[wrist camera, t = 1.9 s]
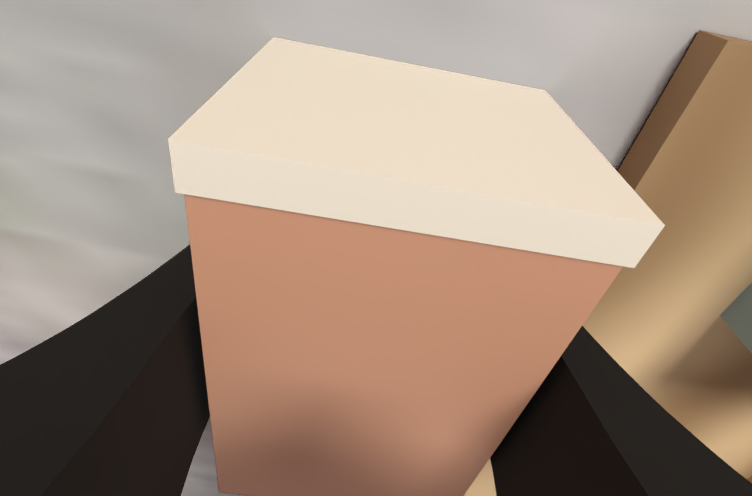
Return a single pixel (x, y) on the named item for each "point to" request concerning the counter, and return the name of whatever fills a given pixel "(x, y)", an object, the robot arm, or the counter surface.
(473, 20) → the counter surface
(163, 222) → the counter surface
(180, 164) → the boxed book
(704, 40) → the shelf
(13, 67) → the counter surface
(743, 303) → the pale blue cube
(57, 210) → the counter surface
